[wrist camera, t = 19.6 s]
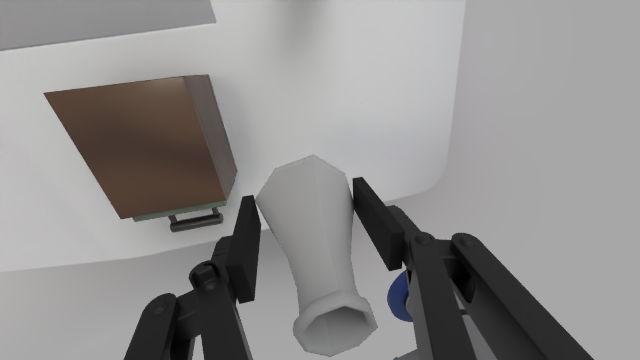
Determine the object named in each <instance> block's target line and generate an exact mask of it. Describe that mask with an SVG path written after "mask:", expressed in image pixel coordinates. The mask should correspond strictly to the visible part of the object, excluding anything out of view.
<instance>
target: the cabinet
mask: <svg viewBox="0 0 640 360" xmlns="http://www.w3.org/2000/svg"><path fill="white" fill-rule="evenodd" d="M43 94H44V95H45V97H46V99H47V100H48V102H49V104H50V105H51V107H52V108H53V110H54V112H55V113H56V115H57V116H58V118H59V120H60V121H61V123H62V125H63V126H64V128H65V129H66V131H67V133H68V134H69V136H70V138H71V139H72V141H73V142H74V144H75V146H76V147H77V149H78V151H79V152H80V154H81V155H82V157H83V159H84V160H85V162H86V163H87V165H88V167H89V168H90V170H91V172H92V173H93V175H94V176H95V178H96V180H97V181H98V183H99V185H100V186H101V188H102V189H103V191H104V193H105V194H106V196H107V198H108V199H109V201H110V202H111V204H112V206H113V207H114V209H115V211H116V212H117V214H118V215H119V217H120V219H126V218H131V217H137V216H142V215H148V214H153V213H159V212H165V211H170V210H176V209H181V208H187V207H192V206H198V205H204V204H209V203H215V202H220V201H226V200H227V197H228V194H229V192H230V189H231V186H232V184H233V181H234V179H235V176H236V173H237V168H236V165H235V162H234V158H233V155H232V152H231V148H230V145H229V142H228V138H227V135H226V132H225V128H224V125H223V122H222V118H221V115H220V112H219V108H218V105H217V102H216V98H215V95H214V92H213V88H212V85H211V82H210V78H209V75H194V76H180V77H171V78H163V79H155V80H146V81H138V82H130V83H122V84H113V85H105V86H97V87H88V88H80V89H72V90H63V91H55V92H47V93H43Z"/></svg>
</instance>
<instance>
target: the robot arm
mask: <svg viewBox="0 0 640 360" xmlns="http://www.w3.org/2000/svg"><path fill="white" fill-rule="evenodd" d="M353 202H354V210H355V212H356V213H357V215H358V217H359V219H360V220H361V222H362V224H363V226H364V228H365V229H366V231H367V233H368V235H369V236H370V238H371V240H372V242H373V244H374V245H375V247H376V249H377V251H378V252H379V254H380V256H381V258H382V259H383V261H384V263H385V265H386V267H387V268H388V270H389V271H392V270H397V269H401V268H402V261H403V262H404V264H405V265H406V276H405V283H407V284H408V290H409V291H408V292H407V294H406V296H405V299H404V305H405V308H406V309H407V311H408V313H409V314H410V315H411V317H412V318H413V324H414V330H415V337H416V344H417V349H416V350H414V351H412V352H410V353H407V354H405V355H403V356H401V357H399V358H397V357H396V358H394V359H393V360H594V359H593V358H592V357H591V356H590V355H589V354H588V353H587V352H586V351H585V350H584V349H583V348H582V347H581V346H580V345H579V344H578V343H577V341H576V340H575V339H574V338H573V337H572V336H571V335H570V334H569V333H568V332H567V331H566V330H565V329H564V328H563V327H562V326H561V325H560V324H559V323H558V322H557V321H556V320H555V319H554V318H553V316H551V314H550V313H549V312H548V311H547V310H546V309H545V308H544V307H543V306H542V305H541V304H540V303H539V302H538V301H537V300H536V299H535V298H534V297H533V296H532V295H531V294H530V293H529V291H528V290H526V288H525V287H524V286H523V285H521V283H520V282H519V281H518V280H517V279H516V278H515V277H514V276H513V275H512V274H511V273H510V272H509V271H508V270H507V269H506V267H505V266H504V265H502V263H501V262H500V261H499V260H498V259H497V258H496V257H495V256H494V255H493V254H492V253H491V252H490V251H489V250H488V249H487V248H486V247H485V246H484V245H483V244H482V242H481V241H480V240H478V239H477V238H476V237H474V236H472V235H470V234H466V233H456V234H454V235H453V236H452V239H451V240H439V239H435V238H434V237H433V236H432V235H431V234H429V233H426V232H421V231H420V230H419V229H418V227H417V226H416V225H415V224H414V223H413V222H412V221H411V220H410V219H409V218H408V216H407V215H405V213H404V212H403V211H402V210H401V209H400V208H398V207H396V206H395V205H392V206H387V207H386V206H385V205H384V203H383V202H382V201H381V200H380V198H379V197H378V196H377V195H376V193H375V192H374V191H373V190H372V188H371V187H370V186H369V185H368V184H367V182H366V181H365V180H364V179H363V177H359V178H353ZM260 232H261V223H260V219H259V215H258V211H257V207H256V203H255V200H254V196H253V195H250V196H244V197H242V201H241V205H240V209H239V213H238V217H237V221H236V225H235V228H234V232H233V235H231V236H226V237H222V238H221V239H220V240H219V241H218V242H217V243H216V246H215V249H214V252H213V255H212V258H211V260H208V261H205V262H202V263H200V264H198V265H197V266H196V267H194V268H193V269H192V271H191V272H190V274H189V280H190V282H191V284H192V286H193V288H194V289H193V290H192V291H190V292H188V293H186V294H184V295H181V296H179V297H177V298H176V296H175V295H174V294H171V293H167V294H163V295H160V296H158V297H156V298H155V299H154V300H152V301H151V302H150V303H149V304H148V305H147V306H146V307H145V309H144V310H143V312H142V315H141V317H140V320H139V322H138V325H137V327H136V330H135V333H134V335H133V338H132V340H131V343H130V345H129V347H128V350H127V353H126V355H125V358H124V360H192V356H193V349H194V343H195V337H196V336H198V335H200V334H201V338H202V346H203V353H204V360H253V358H252V355H251V352H250V349H249V345H248V342H247V339H246V336H245V333H244V330H243V326H242V323H241V320H240V317H239V313H238V310H237V308H236V299H238V301H239V304H241V303H246V302H250V301H254V298H255V287H256V275H257V265H258V254H259V242H260Z"/></svg>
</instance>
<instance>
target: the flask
mask: <svg viewBox="0 0 640 360" xmlns="http://www.w3.org/2000/svg"><path fill="white" fill-rule="evenodd" d="M255 202H256V203H257V205H258V207H259V209H260V211H261V213H262V214H263V216H264V218H265V220H266V222H267V223H268V225H269V227H270V229H271V231H272V233H273V234H274V236H275V238H276V239H277V241H278V242H279V244H280V246H281V247H282V249H283V251H284V253H285V255H286V257H287V258H288V261H289V265H290V268H291V271H292V274H293V277H294V280H295V284H296V286H297V293H298V302H299V317H298V318H297V319H296V320H295V322H294V326H293V333H294V336H295V338H296V339H297V340H298V342H299V343H300V345H301V346H302V348H303V349H304V351H306V352H310V353H315V354H320V355H325V356H329V357H331V356H333V355H336V354H339V353H341V352H344V351H346V350H349V349H351V348H354V347H356V346H359V345H360V344H361V343H362V342H363V341H364V340H365V339H366V338H367V337H368V336H369V335H370V334H371V333H372V332H374V331H375V330H376V329H377V328H378V327H377V324H376V321H375V318H374V315H373V312H372V309H371V307H370V304H369V302H368V301H367V299H365V298H363V297H361V296H359V294H358V292H357V289H356V286H355V281H354V275H353V269H352V262H351V238H352V223H353V214H354V202H353V198H352V195H351V192H350V188H349V185H348V182H347V178H346V175H345V173H343V172H342V171H340V170H338V169H337V168H335V167H333V166H332V165H330V164H329V163H327V162H325V161H324V160H322V159H320V158H319V157H317V156H315V155H314V154H313V155H311V156H308V157H305V158H303V159H300V160H297V161H294V162H292V163H289V164H286V165H284V166H281V167H278V168H276V169H274V171H273V173H272V174H271V176H270V177H269V179H268V180H267V182H266V183H265V185H264V186H263V188H262V189H261V191H260V193H259V194H258V196H257V197H256V199H255Z"/></svg>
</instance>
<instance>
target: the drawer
mask: <svg viewBox="0 0 640 360" xmlns="http://www.w3.org/2000/svg"><path fill="white" fill-rule="evenodd" d="M234 181H235V179H234ZM234 181H233V184H234ZM233 184H232V186H231V189H232V187H233ZM231 189H230V192H231ZM230 192H229V194H228V197H229V195H230ZM228 197H227V200H228ZM227 200H226V201H220V202H215V203H209V204H204V205H198V206H192V207H187V208H181V209H176V210H170V211H165V212H159V213H153V214H148V215H142V216H137V217H132V218H133V220H134V221H135V222H137V221H143V220H148V219H154V218H159V217H165V216H168V217H169V219H170V221H171V224H170V229H171V231H172V232H179V231H184V230H190V229H195V228H200V227H206V226H211V225H216V224H221V223H223V215H222V213H219V212H218V209H217V207H220V206H225V205H226V203H227ZM209 208H211V209H212V211H213V214H212V215H206V216H201V217H195V218H190V219H184V220H179V221H177V219H176V217H175V215H176V214H181V213H187V212H192V211H198V210H203V209H209Z"/></svg>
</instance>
